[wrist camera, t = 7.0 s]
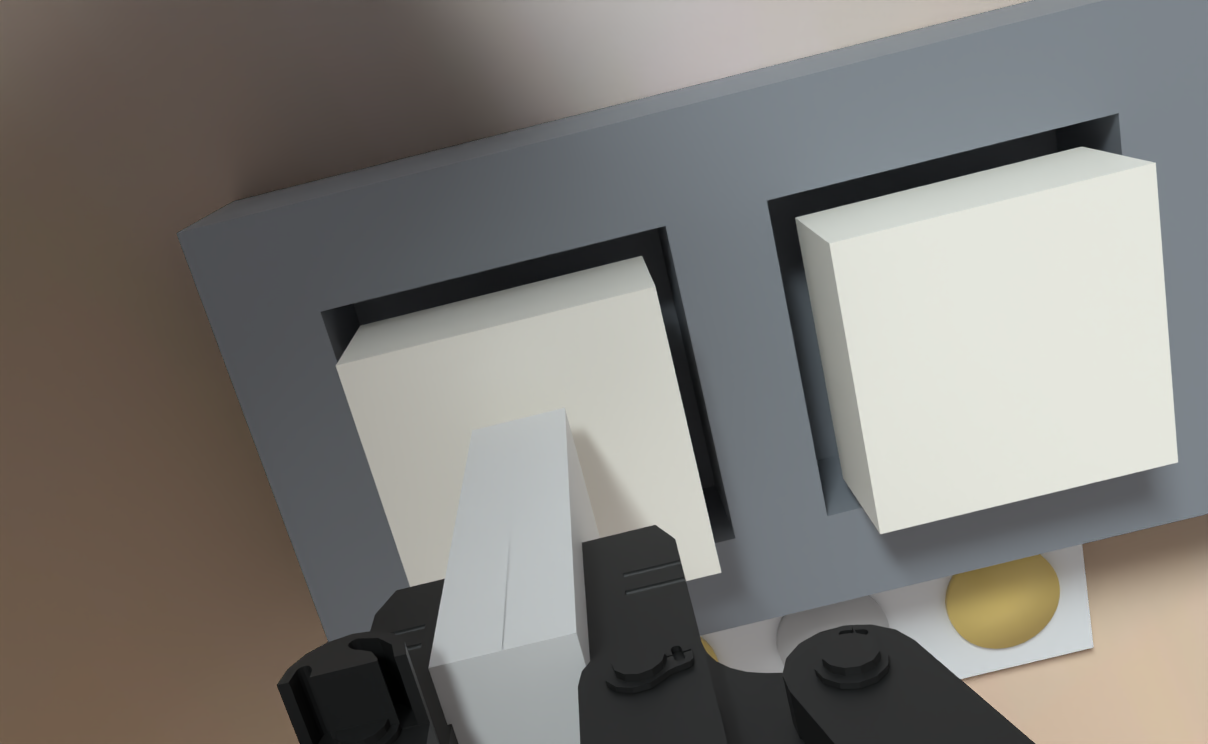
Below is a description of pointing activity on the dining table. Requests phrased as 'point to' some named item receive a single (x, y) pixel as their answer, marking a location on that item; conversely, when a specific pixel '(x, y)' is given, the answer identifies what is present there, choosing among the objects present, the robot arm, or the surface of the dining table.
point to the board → (721, 284)
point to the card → (944, 618)
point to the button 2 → (994, 335)
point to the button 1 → (529, 406)
